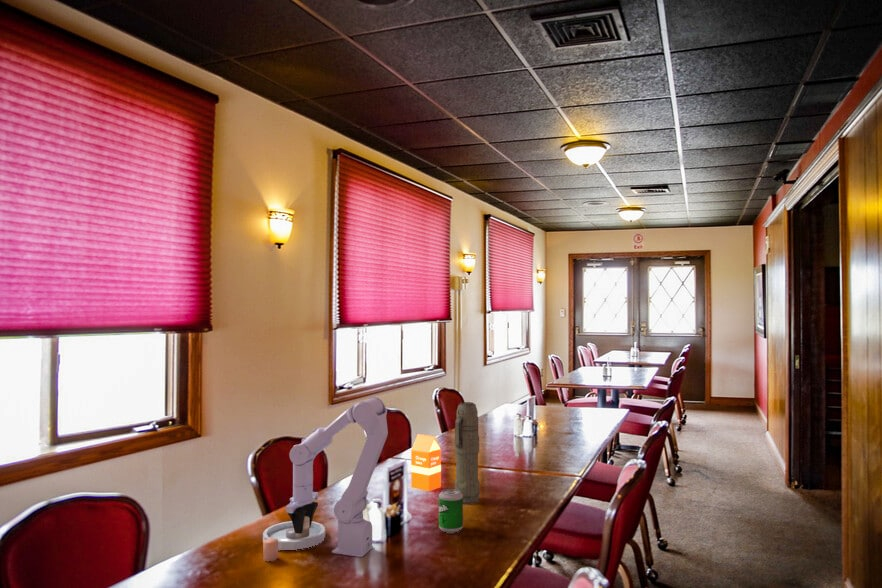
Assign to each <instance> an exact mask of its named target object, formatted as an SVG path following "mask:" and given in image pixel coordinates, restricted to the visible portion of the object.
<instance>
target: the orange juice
mask: <svg viewBox="0 0 882 588" xmlns="http://www.w3.org/2000/svg"><path fill="white" fill-rule="evenodd" d="M415 437H416V438H415V440H414V443H413V445H412V448H411V450H410V451H411V456H410V458H411V460H410V461H411V462H410V463H411V464H410V465H411V466H410V472H411V475H410V476H411V478H410V479H411V481H410V485H411V487H410V488H413V489H417V490H422V491H427V492H431V491H434V490H436V489H439V488H441V487H442V449H441V447H440V445H439V442H438V441H437V438H436V436H433V435H427V434H421V433H417V435H416V436H415Z"/></svg>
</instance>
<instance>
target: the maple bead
mask: <svg viewBox="0 0 882 588" xmlns="http://www.w3.org/2000/svg"><path fill="white" fill-rule="evenodd" d="M309 521H310V518H309V517H308V516H305V518H304V523H303V531H302V533H301V534H298V533H296V537H298V538H304V537H308V536H309Z"/></svg>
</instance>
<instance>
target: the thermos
mask: <svg viewBox="0 0 882 588" xmlns="http://www.w3.org/2000/svg"><path fill="white" fill-rule="evenodd" d="M478 413H479V411H478V408H477V405H476V403H474V402H470V401H468V402H466V401H465V402H460V403H458V405H457V409H456V418H455V422H454V451H455V456H456V458H455V459H456V460H455V467H456V469H455V473H456V475H455V480H454V489H456V490H459V491H460V492H461V493H462V495H463V505H472V504H471V503H475V504H478V503H479V502H480V494H481V493H480V488H481V487H480V480H479V454H480V435H479V416H478ZM478 501H479V502H478ZM477 502H478V503H477Z"/></svg>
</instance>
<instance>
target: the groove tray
mask: <svg viewBox="0 0 882 588" xmlns="http://www.w3.org/2000/svg"><path fill="white" fill-rule="evenodd" d="M271 538H275V539H278V551H280V550H296V551H298V550H297V549H302V550H304V549H303V548H308V549H310V548H309V547H311V548H313V547H316V546H318V545H319V543H320V544H321V543H323V542H324V540H325V539H326V527H325V526H324V525H323V524H322V523H320V522H317V521H313V520H312V523H311V527H310V528H309V536H308V537H304V538H298V537H296V533H295V531H294V527H293V523H292V520H290V521H283V522H279V523H276V524H272V525H271V526H268V527H267V528H266V529H264V531H263V533H262V542H263V541H264V540H266V539H271ZM324 538H325V539H324ZM322 541H323V542H322ZM315 545H316V546H315ZM312 546H313V547H312Z"/></svg>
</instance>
